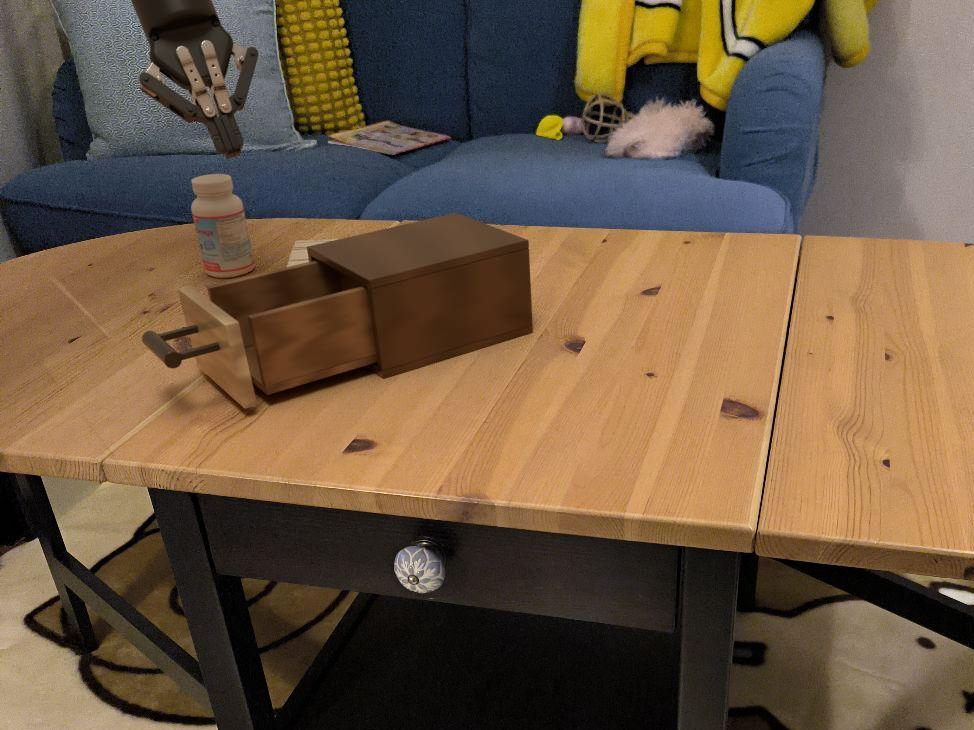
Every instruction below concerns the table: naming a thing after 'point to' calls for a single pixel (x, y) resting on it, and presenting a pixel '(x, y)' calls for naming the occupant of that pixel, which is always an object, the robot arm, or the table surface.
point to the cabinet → (436, 288)
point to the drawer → (273, 330)
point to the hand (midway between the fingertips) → (234, 155)
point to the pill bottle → (221, 227)
